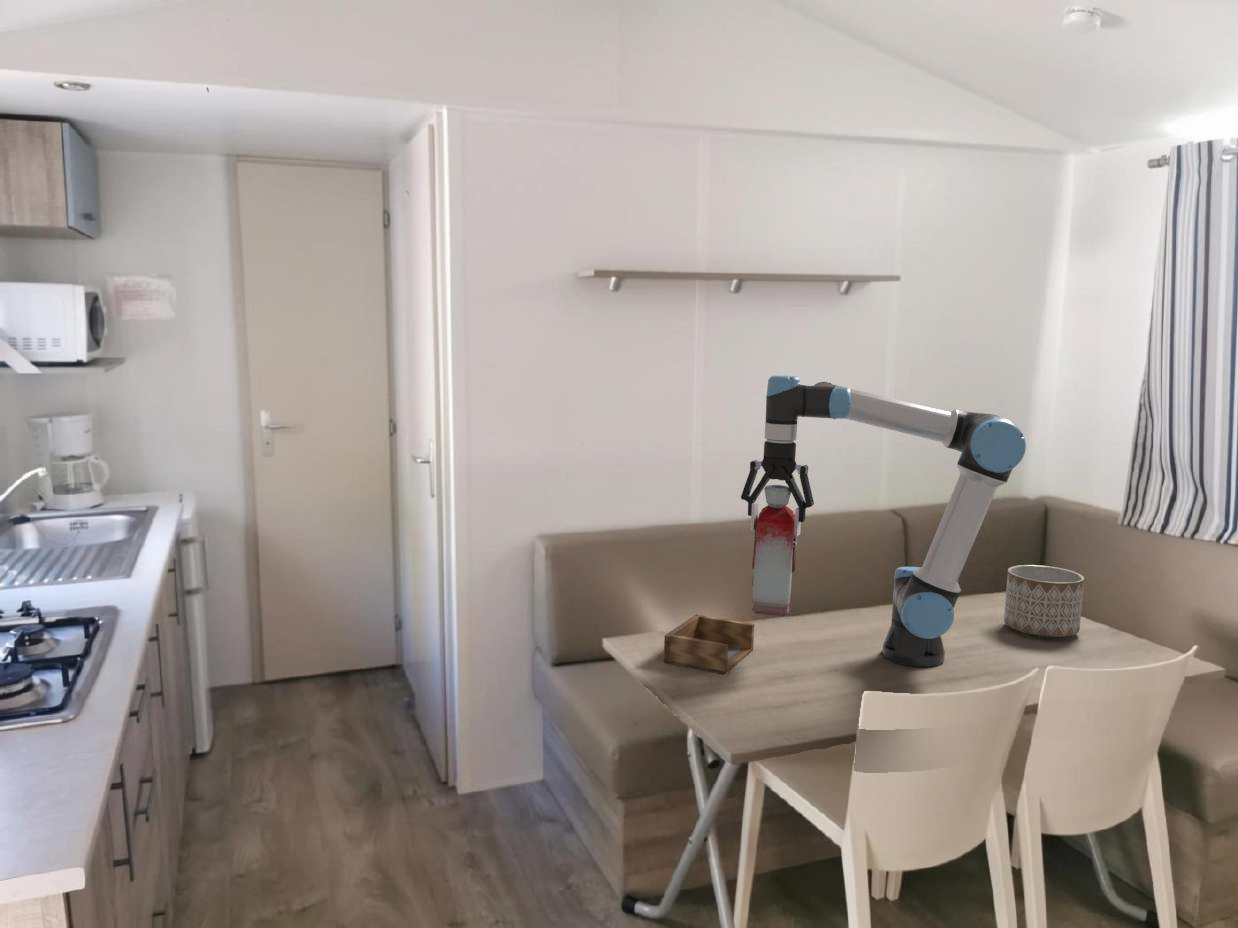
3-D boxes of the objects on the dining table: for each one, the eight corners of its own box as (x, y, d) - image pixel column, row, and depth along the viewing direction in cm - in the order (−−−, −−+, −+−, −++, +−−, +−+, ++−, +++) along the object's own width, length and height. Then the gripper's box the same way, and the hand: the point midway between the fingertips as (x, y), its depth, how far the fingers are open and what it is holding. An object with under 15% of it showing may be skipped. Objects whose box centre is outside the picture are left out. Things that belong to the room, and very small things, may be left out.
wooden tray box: (753, 650, 253) (754, 623, 252) (725, 674, 236) (726, 646, 235) (695, 639, 261) (696, 614, 260) (663, 662, 243) (664, 635, 242)
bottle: (791, 618, 234) (799, 493, 229) (748, 614, 236) (754, 490, 231) (793, 601, 248) (800, 483, 243) (752, 597, 250) (758, 480, 245)
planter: (1083, 628, 277) (1089, 571, 275) (1073, 647, 261) (1078, 586, 259) (1011, 616, 287) (1015, 561, 285) (996, 633, 271) (1001, 575, 269)
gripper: (831, 443, 234) (825, 535, 237) (740, 435, 244) (736, 523, 247) (822, 446, 227) (817, 541, 231) (729, 438, 237) (725, 529, 241)
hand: (775, 532), depth 239 cm, fingers closed on bottle, 10 cm apart
